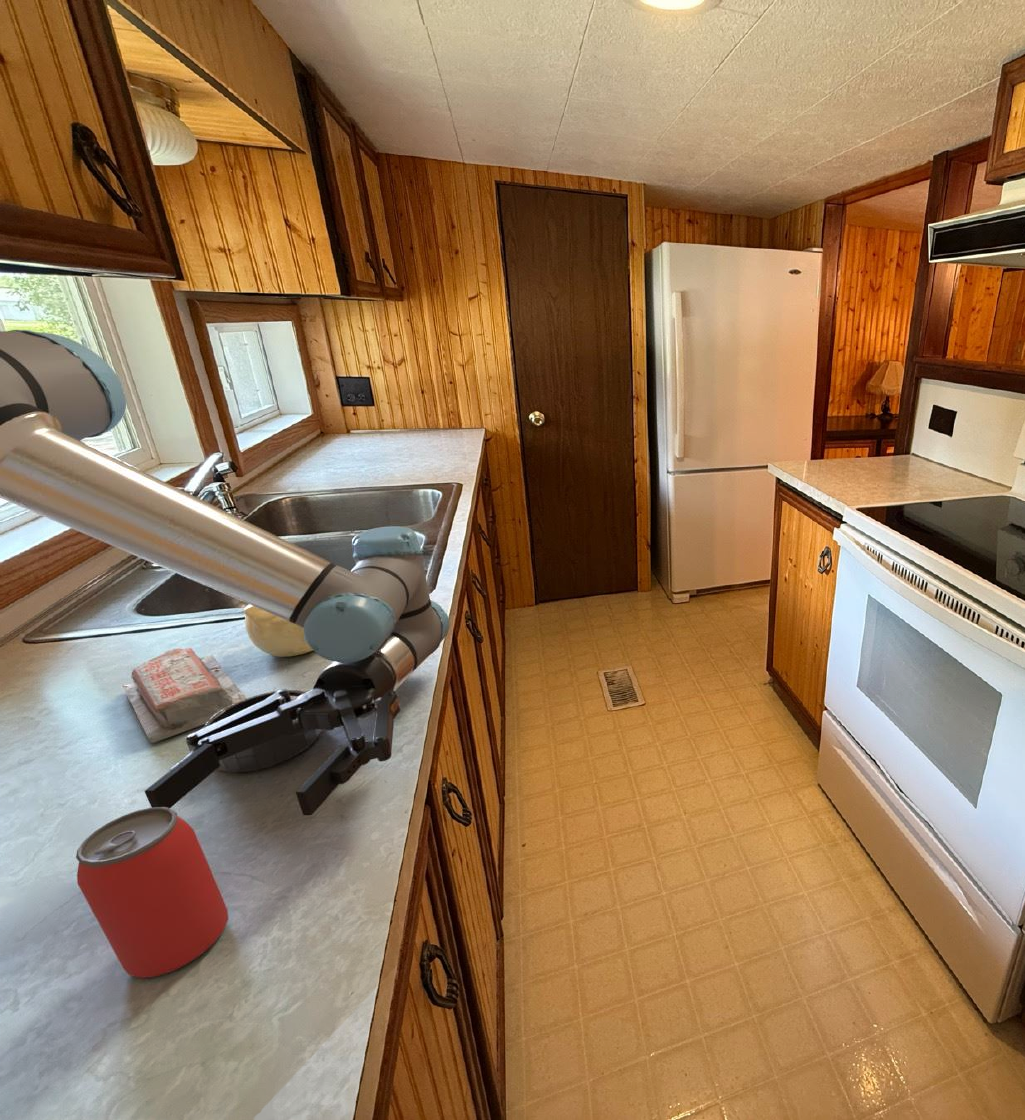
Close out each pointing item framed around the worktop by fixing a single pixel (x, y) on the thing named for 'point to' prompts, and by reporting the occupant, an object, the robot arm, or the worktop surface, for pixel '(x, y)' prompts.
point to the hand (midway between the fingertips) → (228, 803)
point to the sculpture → (274, 633)
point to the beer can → (151, 891)
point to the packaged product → (179, 692)
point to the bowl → (266, 751)
